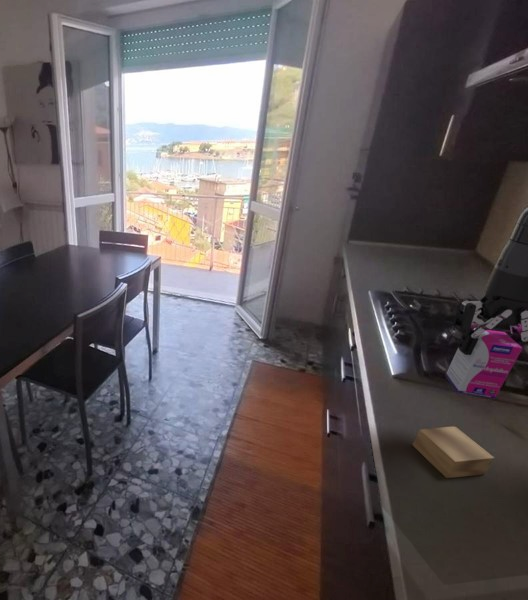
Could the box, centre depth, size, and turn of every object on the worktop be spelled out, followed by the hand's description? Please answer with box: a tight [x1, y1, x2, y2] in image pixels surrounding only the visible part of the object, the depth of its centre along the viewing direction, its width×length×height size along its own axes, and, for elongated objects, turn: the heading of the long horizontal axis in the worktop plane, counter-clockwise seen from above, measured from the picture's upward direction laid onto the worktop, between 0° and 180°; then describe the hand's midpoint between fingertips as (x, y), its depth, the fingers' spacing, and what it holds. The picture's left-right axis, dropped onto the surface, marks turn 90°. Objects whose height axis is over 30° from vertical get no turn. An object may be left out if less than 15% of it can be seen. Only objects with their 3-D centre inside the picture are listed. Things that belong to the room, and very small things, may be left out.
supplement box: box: [445, 327, 523, 399], centre depth 66 cm, size 6×6×12 cm
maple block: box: [412, 425, 495, 479], centre depth 70 cm, size 8×8×4 cm
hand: (485, 354), depth 65 cm, fingers closed on supplement box, 6 cm apart
